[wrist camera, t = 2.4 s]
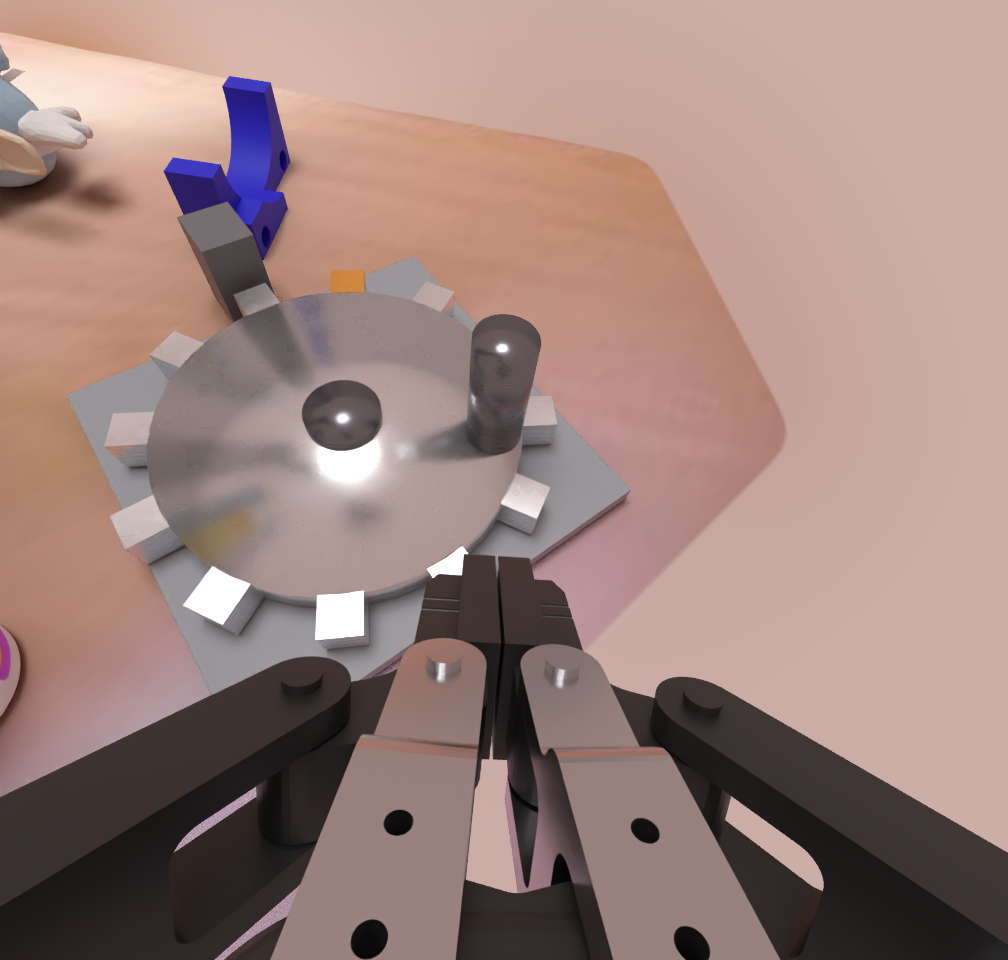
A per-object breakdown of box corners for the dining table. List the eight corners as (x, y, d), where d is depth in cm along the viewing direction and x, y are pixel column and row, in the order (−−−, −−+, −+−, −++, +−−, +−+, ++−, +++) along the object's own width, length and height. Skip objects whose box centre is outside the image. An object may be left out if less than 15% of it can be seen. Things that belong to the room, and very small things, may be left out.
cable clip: (264, 262, 39) (236, 182, 34) (201, 252, 39) (163, 171, 33) (308, 166, 45) (291, 85, 40) (254, 158, 45) (229, 76, 39)
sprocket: (63, 391, 30) (-72, 255, 22) (413, 252, 38) (405, 117, 30) (241, 760, 22) (131, 752, 14) (632, 487, 31) (696, 387, 23)
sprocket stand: (54, 357, 33) (-20, 278, 28) (382, 235, 41) (373, 156, 36) (252, 761, 24) (197, 757, 18) (624, 499, 32) (660, 445, 27)
